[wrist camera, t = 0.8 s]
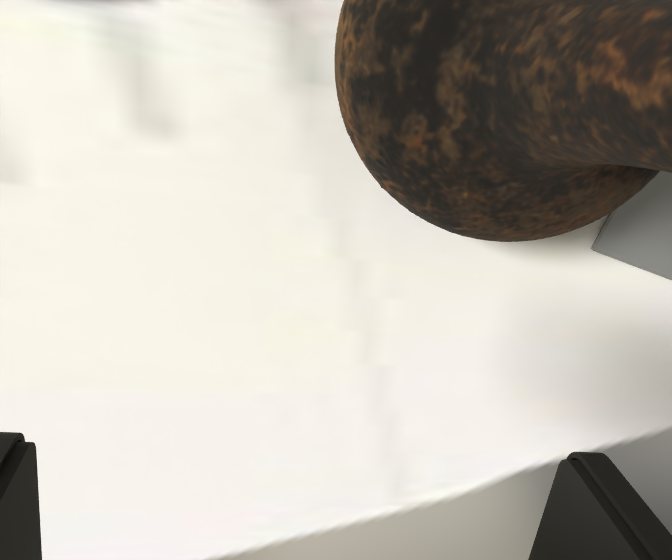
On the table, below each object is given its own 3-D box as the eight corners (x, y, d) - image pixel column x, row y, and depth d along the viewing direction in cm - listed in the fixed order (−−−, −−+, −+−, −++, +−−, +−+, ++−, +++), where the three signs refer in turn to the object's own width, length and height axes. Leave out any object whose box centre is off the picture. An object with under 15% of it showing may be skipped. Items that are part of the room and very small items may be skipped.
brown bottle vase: (618, 176, 40) (1257, 439, 15) (348, 230, 40) (525, 610, 14) (622, -148, 34) (1847, -717, 8) (294, -91, 33) (454, -523, 7)
